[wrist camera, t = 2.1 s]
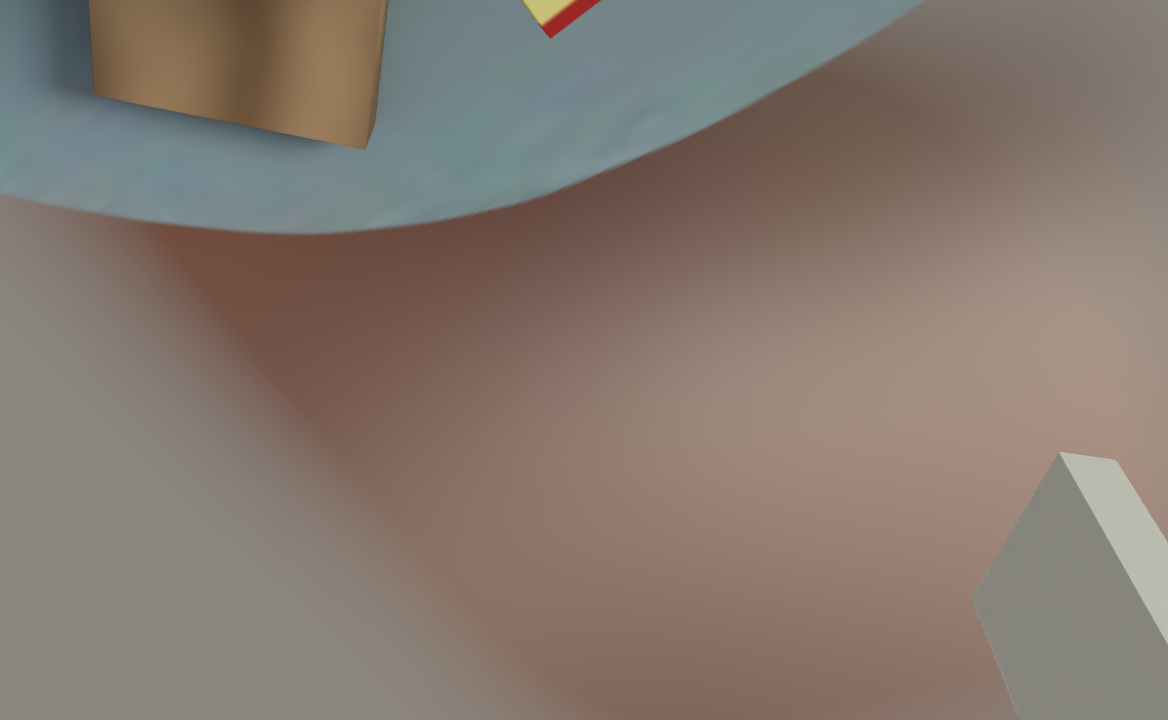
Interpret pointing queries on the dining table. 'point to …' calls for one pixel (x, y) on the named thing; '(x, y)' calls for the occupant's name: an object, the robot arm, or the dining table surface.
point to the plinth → (246, 61)
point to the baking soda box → (557, 12)
